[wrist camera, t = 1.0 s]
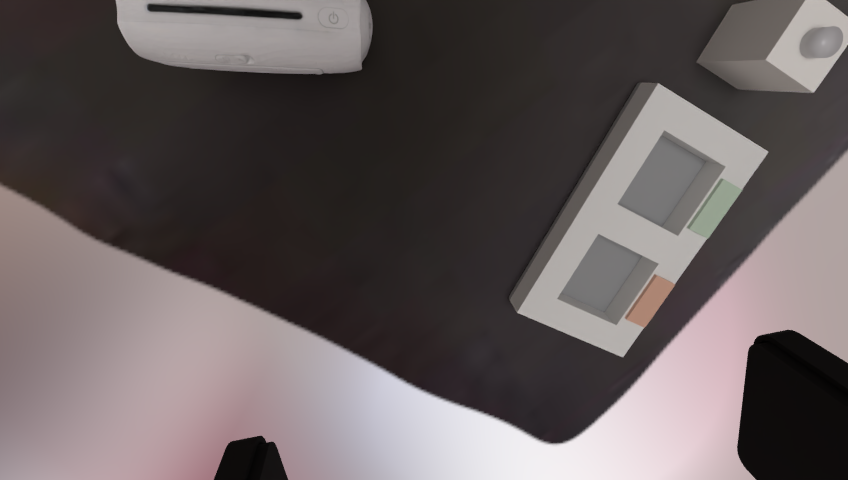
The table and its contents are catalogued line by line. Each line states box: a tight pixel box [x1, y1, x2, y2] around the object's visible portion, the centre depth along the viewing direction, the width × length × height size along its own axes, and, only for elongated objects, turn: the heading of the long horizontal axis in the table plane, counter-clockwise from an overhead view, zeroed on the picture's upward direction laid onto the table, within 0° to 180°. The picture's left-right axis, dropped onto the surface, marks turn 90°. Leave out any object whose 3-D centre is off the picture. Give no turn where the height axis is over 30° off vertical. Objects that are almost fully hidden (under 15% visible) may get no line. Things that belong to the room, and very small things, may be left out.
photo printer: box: [116, 0, 373, 75], centre depth 23 cm, size 10×4×12 cm, turn 87°
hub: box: [508, 82, 768, 357], centre depth 34 cm, size 18×10×3 cm, turn 153°
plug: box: [697, 0, 848, 93], centre depth 29 cm, size 4×4×7 cm
